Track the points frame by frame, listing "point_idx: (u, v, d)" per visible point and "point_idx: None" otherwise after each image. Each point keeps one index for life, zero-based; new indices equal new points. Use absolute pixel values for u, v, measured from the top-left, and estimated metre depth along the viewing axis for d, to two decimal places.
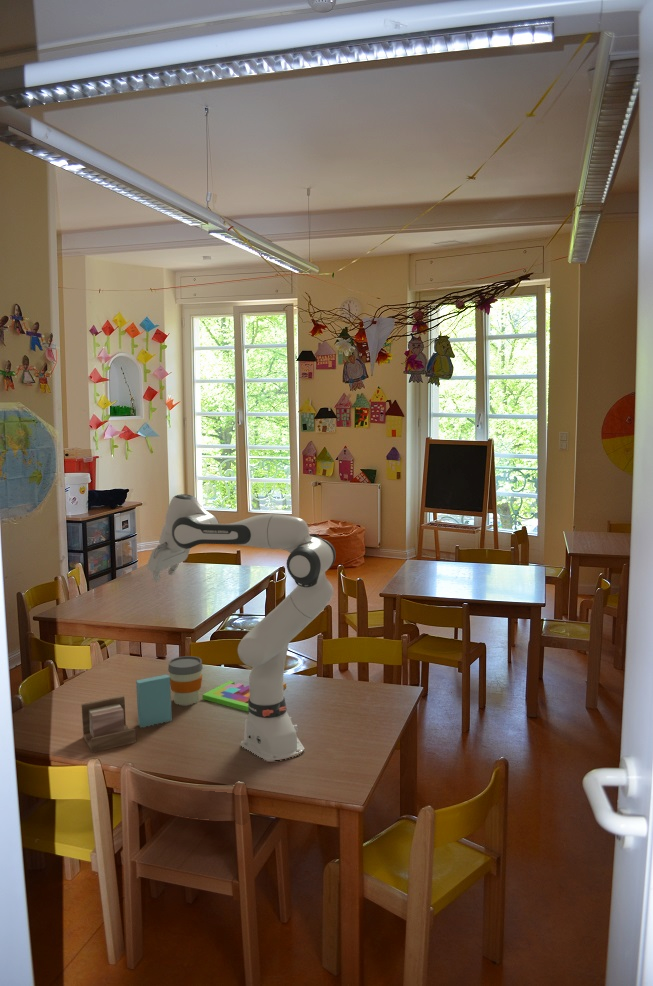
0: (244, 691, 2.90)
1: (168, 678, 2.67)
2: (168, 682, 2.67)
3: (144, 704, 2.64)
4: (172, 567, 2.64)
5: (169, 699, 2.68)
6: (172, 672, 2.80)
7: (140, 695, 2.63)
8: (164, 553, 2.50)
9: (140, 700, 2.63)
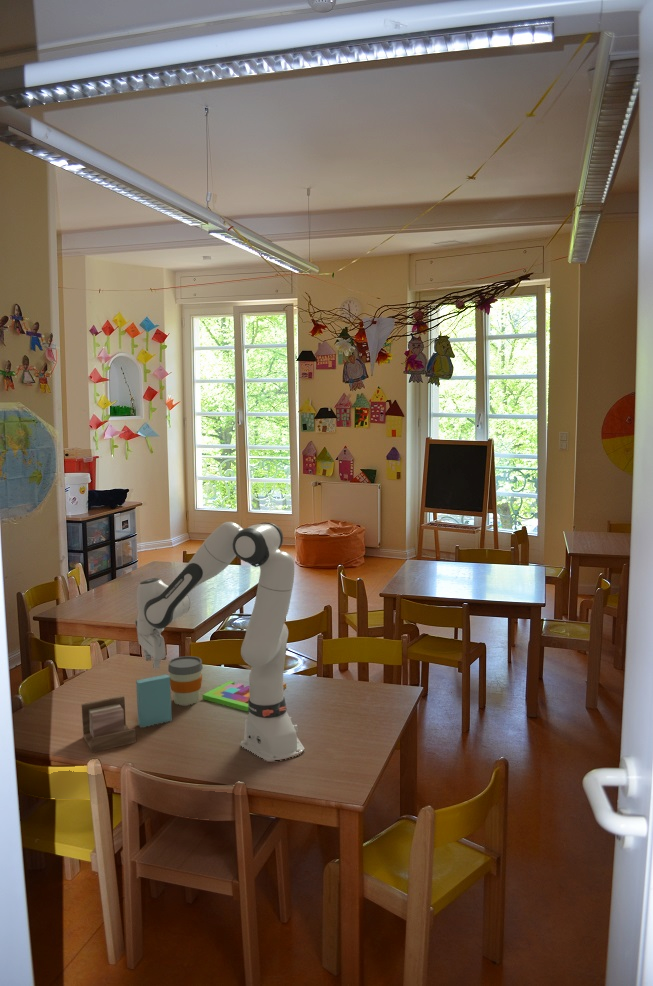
0: (244, 691, 2.90)
1: (168, 678, 2.67)
2: (168, 682, 2.67)
3: (144, 704, 2.64)
4: (146, 653, 2.69)
5: (169, 699, 2.68)
6: (172, 672, 2.80)
7: (140, 695, 2.63)
8: None
9: (140, 700, 2.63)
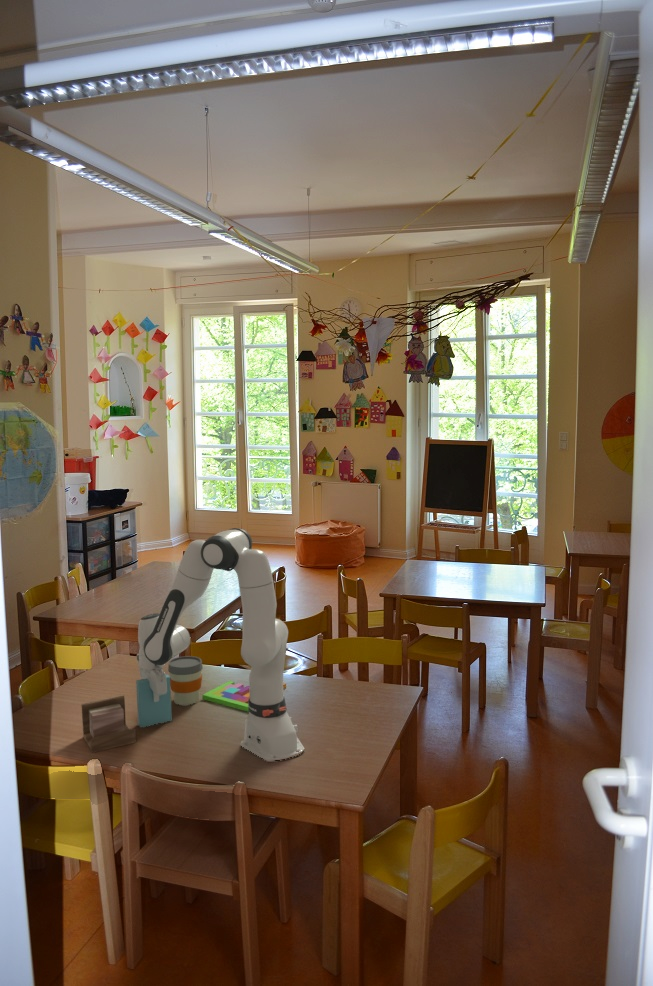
0: (244, 691, 2.90)
1: (168, 678, 2.67)
2: (167, 682, 2.67)
3: (144, 704, 2.64)
4: None
5: (169, 699, 2.68)
6: (172, 672, 2.80)
7: (140, 695, 2.63)
8: None
9: (140, 700, 2.63)
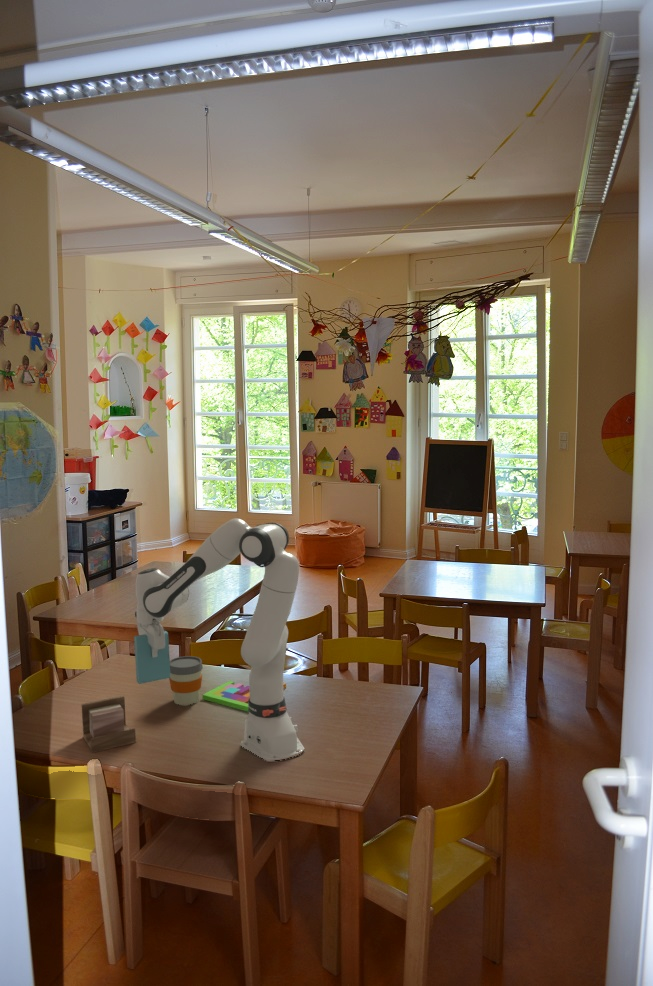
0: (244, 691, 2.90)
1: (166, 634, 2.65)
2: (166, 638, 2.65)
3: (142, 660, 2.61)
4: None
5: (167, 655, 2.66)
6: (172, 672, 2.80)
7: (138, 650, 2.60)
8: None
9: (139, 656, 2.61)
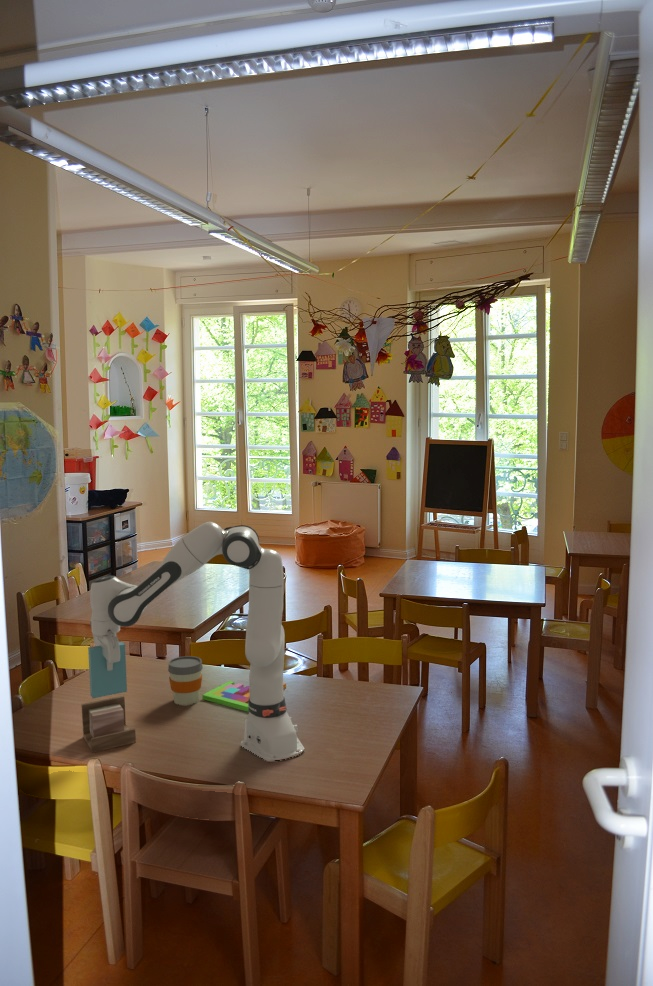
0: (244, 691, 2.90)
1: (123, 645, 2.49)
2: (122, 650, 2.49)
3: (96, 673, 2.46)
4: None
5: (124, 668, 2.50)
6: (172, 672, 2.80)
7: (92, 663, 2.45)
8: None
9: (92, 669, 2.45)
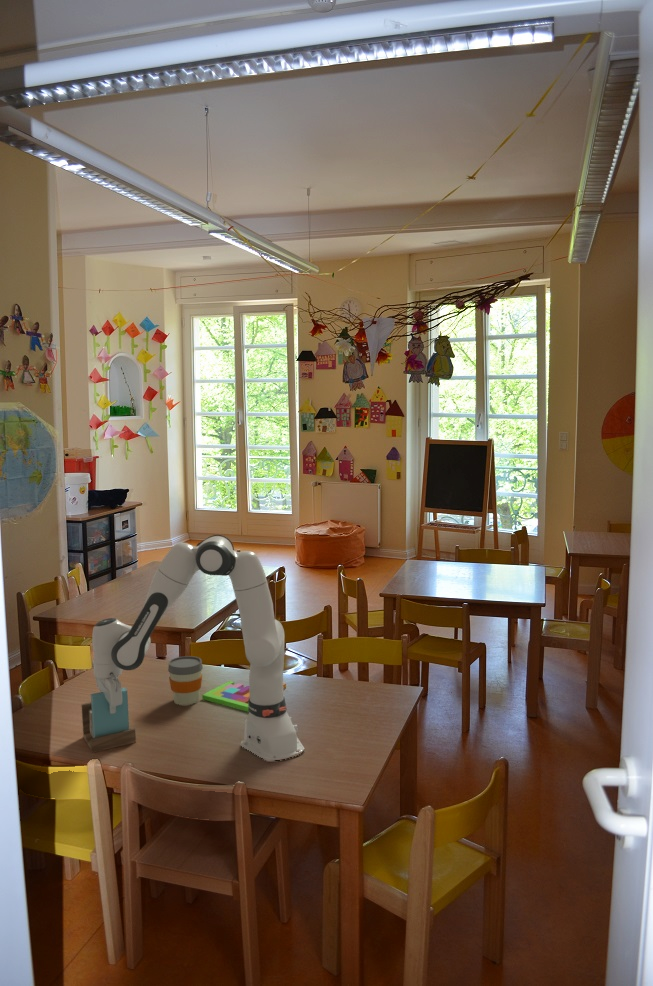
0: (244, 691, 2.90)
1: (125, 691, 2.51)
2: (125, 696, 2.52)
3: (99, 719, 2.48)
4: None
5: (126, 714, 2.52)
6: (172, 672, 2.80)
7: (95, 710, 2.47)
8: None
9: (95, 715, 2.47)
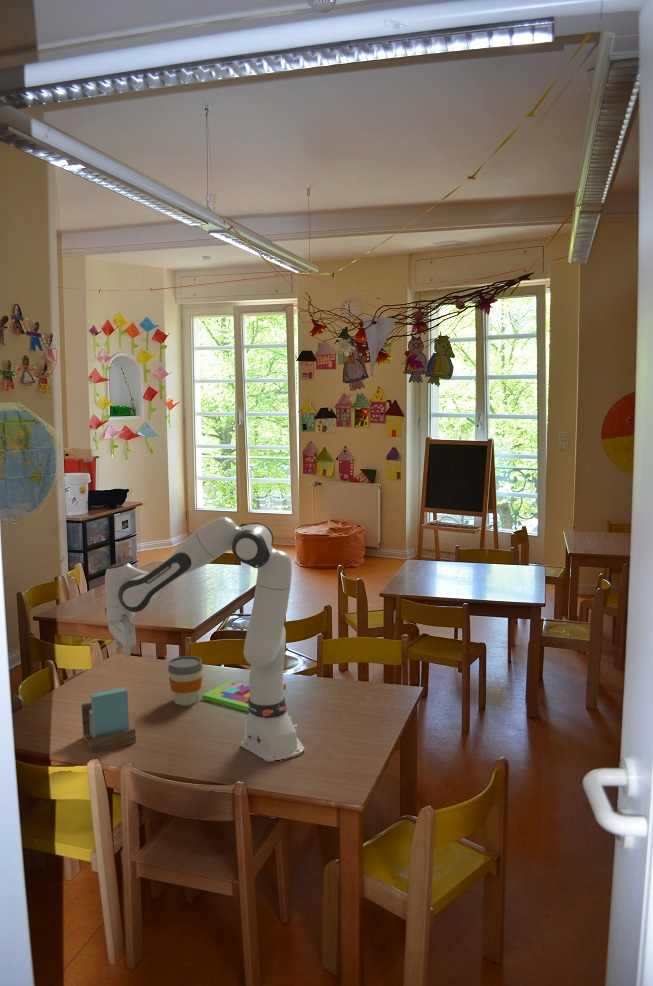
0: (244, 691, 2.90)
1: (125, 691, 2.51)
2: (125, 696, 2.52)
3: (99, 719, 2.48)
4: (117, 641, 2.59)
5: (126, 714, 2.52)
6: (172, 672, 2.80)
7: (95, 710, 2.47)
8: None
9: (95, 715, 2.47)
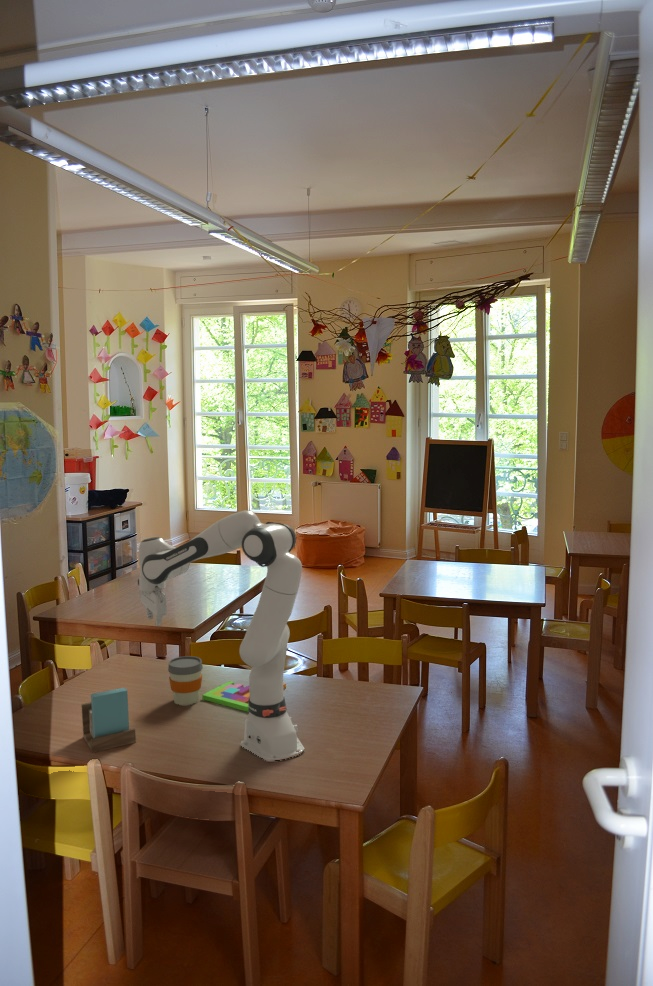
0: (244, 691, 2.90)
1: (125, 691, 2.51)
2: (125, 696, 2.52)
3: (99, 719, 2.48)
4: (149, 611, 2.74)
5: (126, 714, 2.52)
6: (172, 672, 2.80)
7: (95, 710, 2.47)
8: None
9: (95, 715, 2.47)
